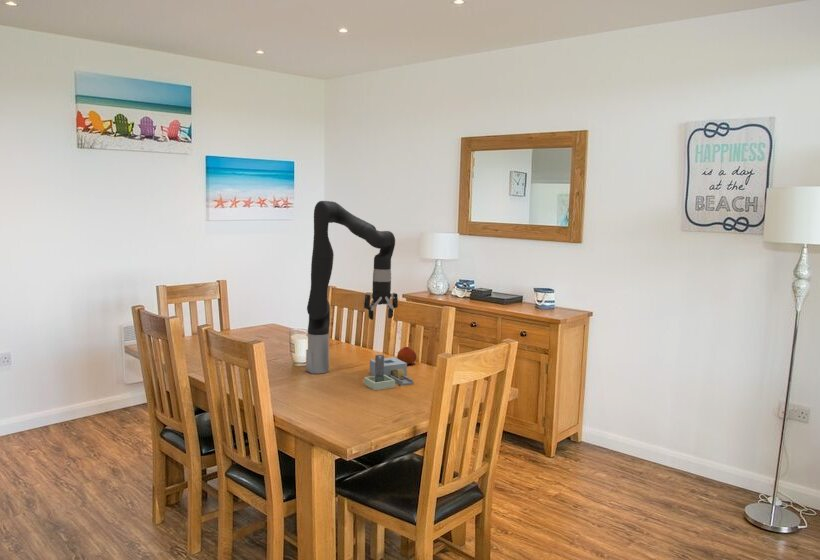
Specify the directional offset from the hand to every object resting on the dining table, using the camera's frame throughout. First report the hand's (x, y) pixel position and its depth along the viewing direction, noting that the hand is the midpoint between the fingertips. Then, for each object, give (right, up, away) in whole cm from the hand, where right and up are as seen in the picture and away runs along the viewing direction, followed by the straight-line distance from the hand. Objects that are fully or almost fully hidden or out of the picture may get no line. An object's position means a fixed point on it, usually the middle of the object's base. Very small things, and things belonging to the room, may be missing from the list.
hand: (380, 318), depth 267 cm
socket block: (+5, -26, +12) cm, 29 cm away
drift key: (+6, -25, +10) cm, 28 cm away
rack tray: (-1, -28, 0) cm, 28 cm away
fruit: (+11, -24, +36) cm, 45 cm away
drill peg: (-1, -27, 0) cm, 27 cm away
